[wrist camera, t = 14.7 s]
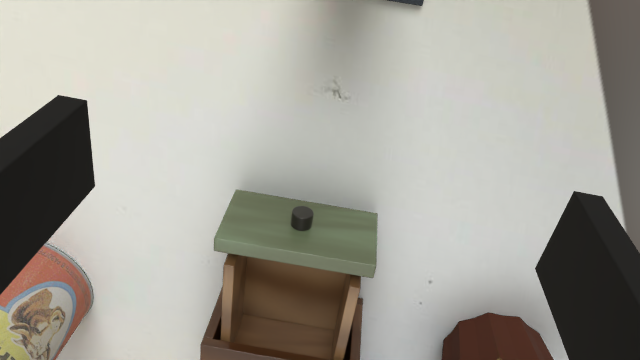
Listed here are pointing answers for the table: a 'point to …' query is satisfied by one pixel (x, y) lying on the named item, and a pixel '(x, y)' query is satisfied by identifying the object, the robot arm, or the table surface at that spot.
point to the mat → (410, 2)
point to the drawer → (293, 272)
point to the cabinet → (229, 356)
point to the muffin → (494, 340)
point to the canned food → (43, 307)
